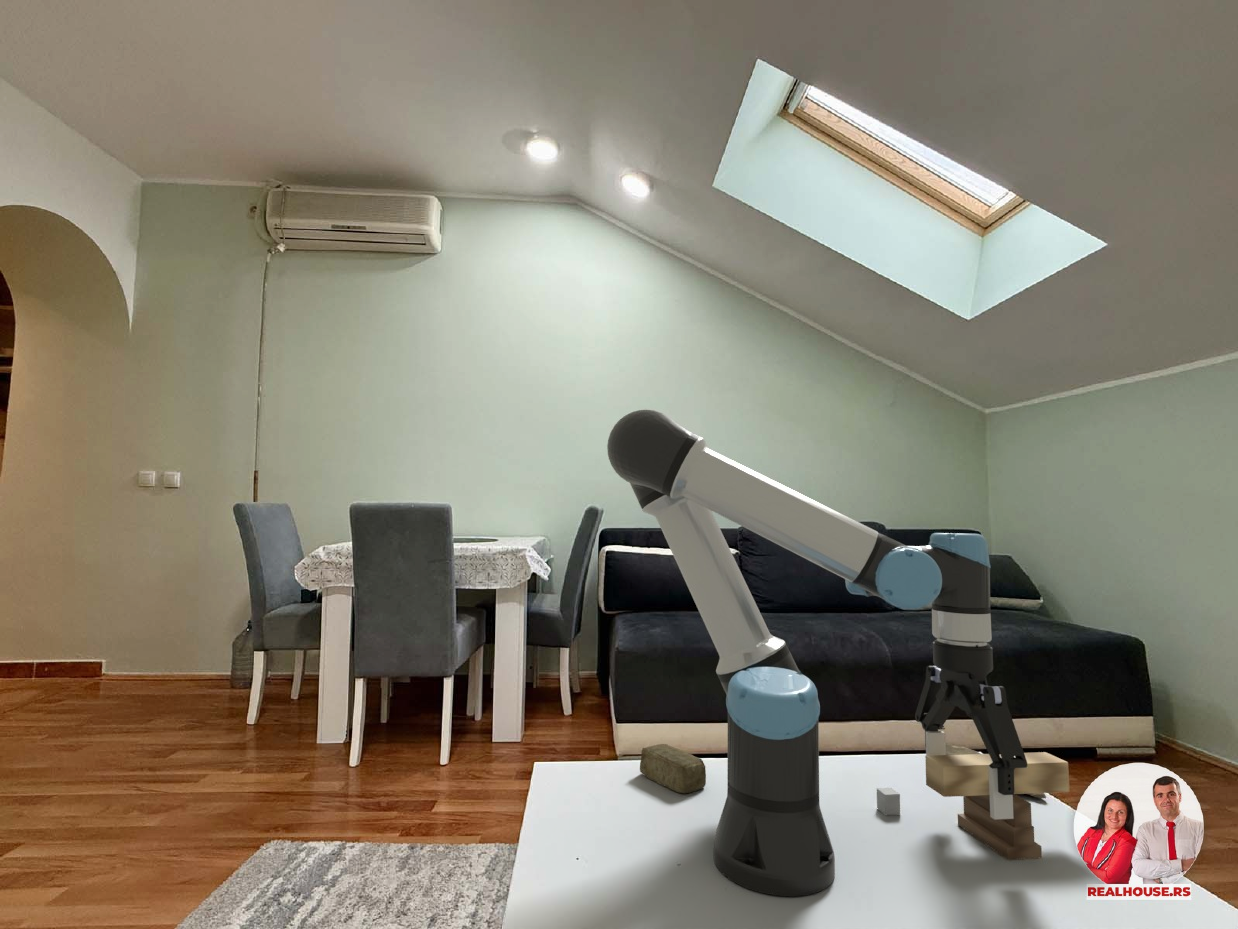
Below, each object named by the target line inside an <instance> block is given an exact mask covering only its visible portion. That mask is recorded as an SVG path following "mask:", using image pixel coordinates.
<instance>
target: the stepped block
mask: <svg viewBox="0 0 1238 929" xmlns="http://www.w3.org/2000/svg"><path fill="white" fill-rule="evenodd" d="M962 797H963V813H957V825H958V826H959V827H961V828H962V829H963V830H965V831H966V832H967V833H969V834H971V835H972V836H974V837H975V838H976V839H978V841H980V842H981V843H983V844H985V846H987V847H989V848H990V849H992V850H993V851H995V852H996V853H997V854H998V855H1001V857H1003V858H1004V859H1005V860H1007V861H1011V860H1012V861H1013V860H1031V859H1043V854H1042V853H1043V851H1042V845H1040V844H1039V843H1038V842H1036V841H1035V827H1034V825H1032V824H1033V822H1032V803H1031V802H1029V801H1027V800H1025V798H1024V799H1023V798H1022V797H1020V796H1019V795H1018V794H1014V795H1013V817H1014V819H996V820H994V819H993V818H991V817H990V795H978V796H962Z"/></svg>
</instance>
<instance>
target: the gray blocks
mask: <svg viewBox="0 0 1238 929" xmlns="http://www.w3.org/2000/svg"><path fill="white" fill-rule="evenodd" d="M900 796H901V794H900V793H899V792H898V791H896V790H895V789H894V788H892V787H877V788H876V809H877V808H878V809H879V810H878V809H877V810H878V811H879V812H881V813H882V814H884V816H900V815H901V797H900ZM899 814H900V815H899Z"/></svg>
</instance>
